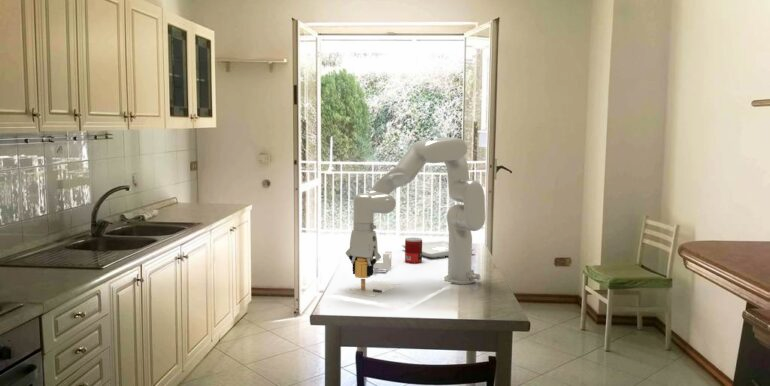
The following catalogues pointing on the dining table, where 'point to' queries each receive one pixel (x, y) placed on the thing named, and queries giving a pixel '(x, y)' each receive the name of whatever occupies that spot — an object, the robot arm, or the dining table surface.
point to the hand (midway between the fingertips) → (362, 274)
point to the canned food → (413, 250)
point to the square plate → (432, 253)
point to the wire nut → (361, 268)
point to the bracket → (384, 261)
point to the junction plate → (372, 288)
